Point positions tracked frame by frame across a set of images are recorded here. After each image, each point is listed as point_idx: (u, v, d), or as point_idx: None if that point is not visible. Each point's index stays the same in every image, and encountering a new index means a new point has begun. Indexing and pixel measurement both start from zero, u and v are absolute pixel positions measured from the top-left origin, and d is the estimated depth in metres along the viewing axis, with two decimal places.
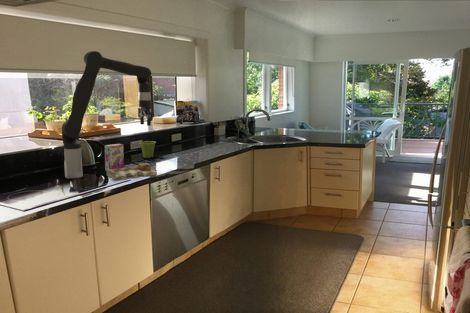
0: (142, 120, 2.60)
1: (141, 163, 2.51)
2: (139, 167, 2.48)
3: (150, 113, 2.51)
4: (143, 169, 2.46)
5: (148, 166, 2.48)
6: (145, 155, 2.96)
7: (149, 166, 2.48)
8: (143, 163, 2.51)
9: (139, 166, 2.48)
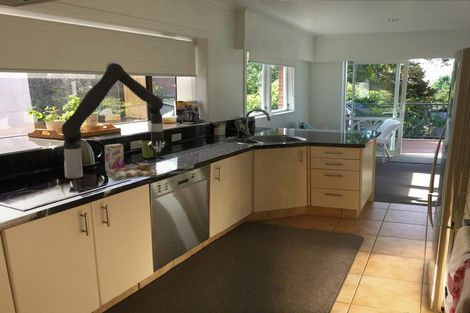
0: None
1: (141, 163, 2.51)
2: (139, 167, 2.48)
3: None
4: (143, 169, 2.46)
5: (148, 166, 2.48)
6: (145, 155, 2.96)
7: (149, 166, 2.48)
8: (143, 163, 2.51)
9: (139, 166, 2.48)
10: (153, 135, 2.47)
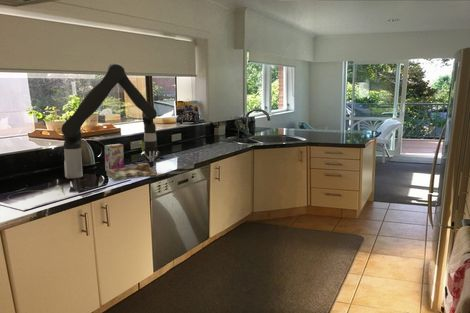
0: None
1: (140, 163, 2.50)
2: (138, 167, 2.48)
3: None
4: (142, 169, 2.46)
5: (147, 166, 2.47)
6: (145, 155, 2.96)
7: (148, 166, 2.48)
8: (142, 163, 2.50)
9: (138, 166, 2.47)
10: (146, 145, 2.46)
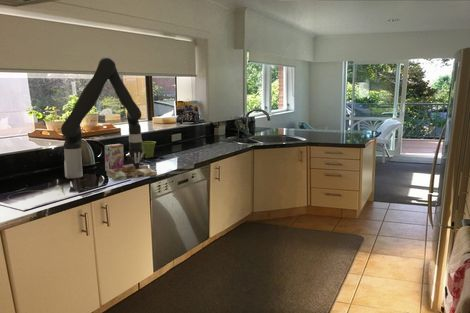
0: None
1: (125, 165, 2.45)
2: (123, 169, 2.42)
3: None
4: (127, 171, 2.40)
5: (132, 168, 2.42)
6: None
7: (133, 168, 2.42)
8: (127, 165, 2.45)
9: (123, 168, 2.42)
10: (131, 146, 2.41)
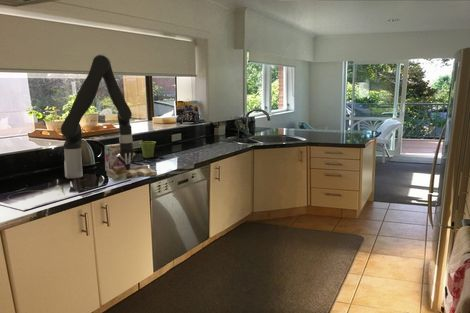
0: None
1: (116, 166, 2.42)
2: (114, 170, 2.39)
3: None
4: (118, 172, 2.37)
5: (123, 169, 2.38)
6: (145, 155, 2.96)
7: (124, 169, 2.39)
8: (118, 166, 2.42)
9: (114, 169, 2.39)
10: (122, 147, 2.37)
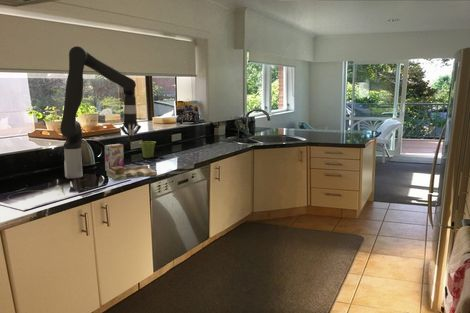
0: None
1: None
2: (112, 170, 2.38)
3: None
4: (116, 172, 2.36)
5: (121, 169, 2.38)
6: (145, 155, 2.96)
7: (122, 169, 2.38)
8: (116, 166, 2.41)
9: (112, 169, 2.38)
10: (126, 117, 2.36)
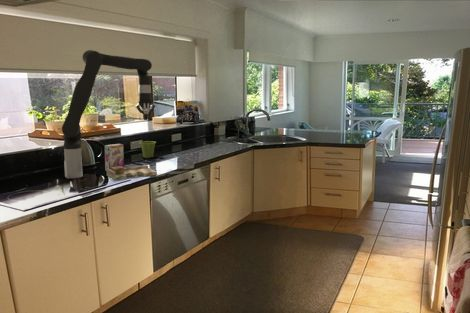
0: None
1: None
2: (112, 170, 2.38)
3: None
4: (116, 172, 2.36)
5: (121, 169, 2.38)
6: (145, 155, 2.96)
7: (122, 169, 2.38)
8: (116, 166, 2.41)
9: (112, 169, 2.38)
10: (141, 96, 2.47)
